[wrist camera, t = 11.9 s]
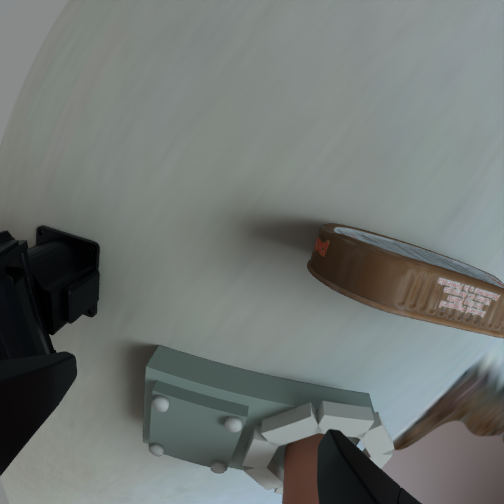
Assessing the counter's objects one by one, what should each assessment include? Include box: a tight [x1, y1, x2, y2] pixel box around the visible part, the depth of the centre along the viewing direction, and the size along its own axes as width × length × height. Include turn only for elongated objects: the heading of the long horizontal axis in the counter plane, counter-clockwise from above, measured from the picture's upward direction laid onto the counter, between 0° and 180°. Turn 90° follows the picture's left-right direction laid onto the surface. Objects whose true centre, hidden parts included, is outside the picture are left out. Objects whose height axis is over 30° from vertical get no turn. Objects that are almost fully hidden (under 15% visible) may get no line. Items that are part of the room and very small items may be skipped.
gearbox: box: [143, 345, 394, 494], centre depth 23 cm, size 21×12×5 cm, turn 76°
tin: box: [307, 224, 504, 338], centre depth 16 cm, size 15×3×8 cm, turn 76°
